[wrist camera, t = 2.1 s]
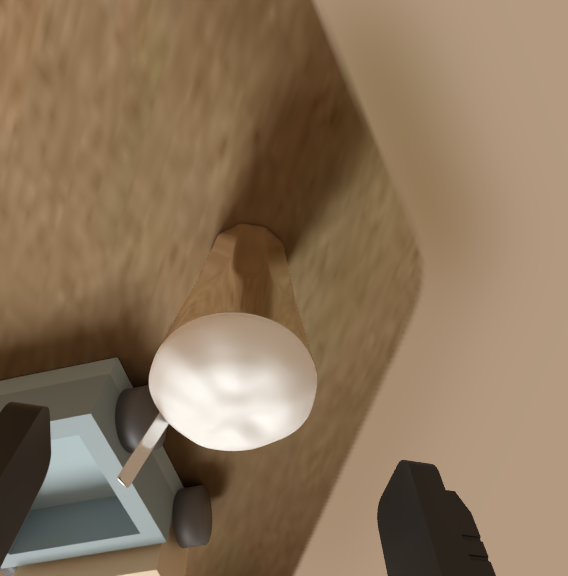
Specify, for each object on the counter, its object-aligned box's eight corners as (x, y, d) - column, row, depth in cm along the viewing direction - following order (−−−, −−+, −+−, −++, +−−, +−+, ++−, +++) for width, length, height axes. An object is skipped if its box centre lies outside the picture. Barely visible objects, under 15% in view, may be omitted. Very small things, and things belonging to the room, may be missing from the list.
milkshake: (156, 245, 19) (60, 425, 11) (270, 187, 18) (267, 335, 9) (213, 325, 21) (171, 532, 13) (319, 278, 20) (353, 468, 11)
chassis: (220, 518, 28) (211, 601, 24) (46, 546, 29) (9, 631, 25) (141, 352, 22) (110, 427, 18) (-76, 395, 23) (-152, 475, 19)
